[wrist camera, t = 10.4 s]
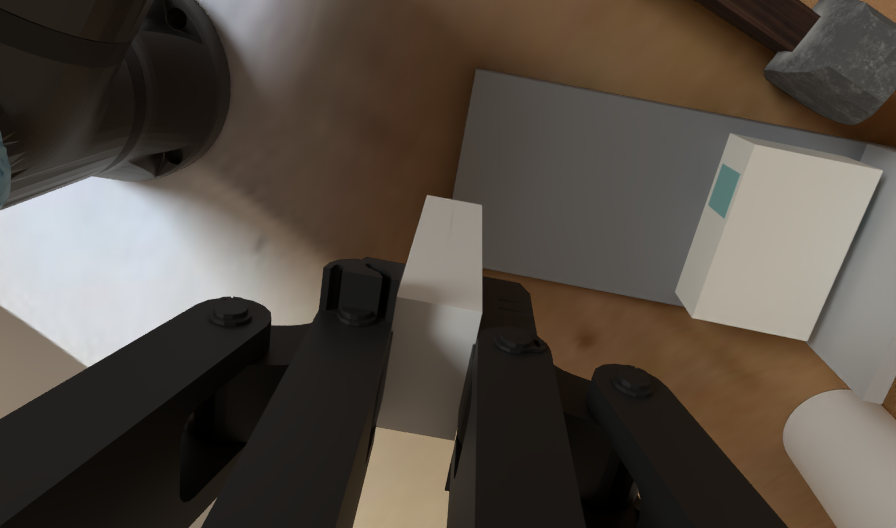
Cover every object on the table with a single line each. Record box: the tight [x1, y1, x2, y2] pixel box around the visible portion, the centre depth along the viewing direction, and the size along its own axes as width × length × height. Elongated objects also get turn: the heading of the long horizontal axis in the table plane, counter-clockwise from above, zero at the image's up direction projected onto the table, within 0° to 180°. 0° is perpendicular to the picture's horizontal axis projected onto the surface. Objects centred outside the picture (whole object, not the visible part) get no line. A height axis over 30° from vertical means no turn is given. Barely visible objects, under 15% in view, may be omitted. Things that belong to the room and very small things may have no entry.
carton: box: [675, 133, 883, 341], centre depth 43 cm, size 8×12×4 cm
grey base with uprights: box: [452, 68, 896, 404], centre depth 42 cm, size 30×14×12 cm, turn 80°
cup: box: [783, 390, 896, 528], centre depth 45 cm, size 8×8×16 cm
